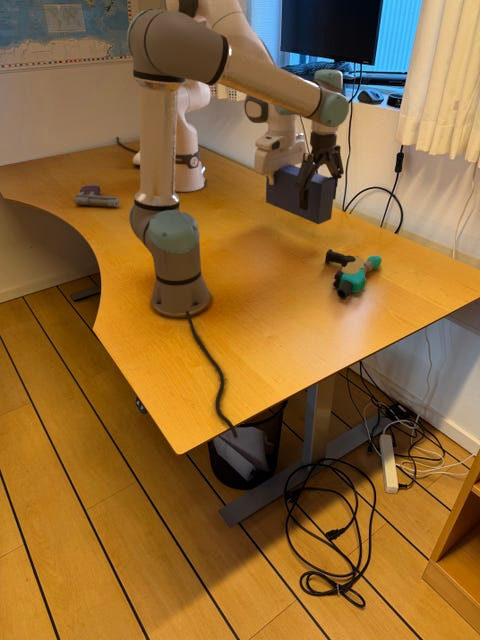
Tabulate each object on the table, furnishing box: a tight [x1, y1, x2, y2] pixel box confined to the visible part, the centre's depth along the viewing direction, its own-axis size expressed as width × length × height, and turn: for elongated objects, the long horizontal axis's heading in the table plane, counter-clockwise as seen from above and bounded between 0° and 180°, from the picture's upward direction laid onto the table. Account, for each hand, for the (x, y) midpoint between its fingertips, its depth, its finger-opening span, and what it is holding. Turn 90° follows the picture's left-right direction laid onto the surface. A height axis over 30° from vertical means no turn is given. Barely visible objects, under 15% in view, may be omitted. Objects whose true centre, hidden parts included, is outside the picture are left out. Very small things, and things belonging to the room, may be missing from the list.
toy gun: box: [73, 184, 120, 208], centre depth 181 cm, size 4×19×15 cm
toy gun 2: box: [324, 248, 383, 301], centre depth 133 cm, size 4×26×15 cm
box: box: [265, 165, 335, 225], centre depth 152 cm, size 24×6×13 cm, turn 41°
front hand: (317, 203), depth 148 cm, fingers open, 12 cm apart
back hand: (280, 181), depth 156 cm, fingers closed on box, 6 cm apart
